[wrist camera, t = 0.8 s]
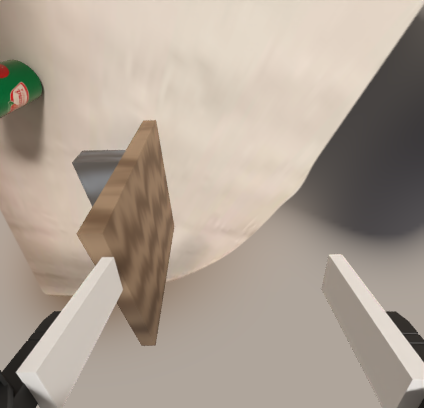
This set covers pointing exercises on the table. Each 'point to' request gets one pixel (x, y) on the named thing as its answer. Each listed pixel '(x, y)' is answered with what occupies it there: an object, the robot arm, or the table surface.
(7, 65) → the soda can
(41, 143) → the table surface
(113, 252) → the wall board
